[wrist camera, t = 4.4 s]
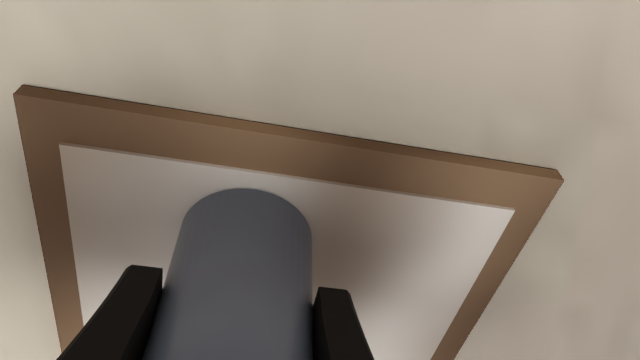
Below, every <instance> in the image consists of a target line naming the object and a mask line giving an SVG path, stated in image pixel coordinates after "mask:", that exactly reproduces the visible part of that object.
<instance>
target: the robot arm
mask: <svg viewBox="0 0 640 360" xmlns="http://www.w3.org/2000/svg"><path fill="white" fill-rule="evenodd" d="M162 280H163V268H157V267H149V266H140V265H130V266H128V267H127V268H126V269H125V271H124V272H123V274H122V275H121V277H120V278H119V280H118V281H117V283H116V284H115V286H114V287H113V288H112V290H111V291H110V293H109V294H108V295H107V297H106V298H105V300H104V301H103V302H102V304H101V305H100V306H99V308H98V309H97V310H96V312H95V313H94V314H93V315H92V317H91V318H90V319H89V321H88V322H87V323H86V324H85V326H84V327H83V328H82V329H81V331H80V332H79V333H78V334H77V335H76V337H75V338H74V339H73V340H72V341H71V343H70V344H69V345H68V346H67V348H66V349H65V350H64V351H63V352H62V354H61V355H60V356H59V357H58V358H57V359H56V360H142V357H143V353H144V350H145V347H146V343H147V340H148V337H149V333H150V330H151V327H152V323H153V320H154V317H155V313H156V310H157V306H158V303H159V300H160V296H161V293H162ZM313 360H374V357H373V355H372V352H371V350H370V347H369V345H368V342H367V340H366V337H365V335H364V332H363V330H362V327H361V324H360V321H359V319H358V316H357V313H356V310H355V307H354V304H353V301H352V298H351V294H350V293H349V292H348V291H347V290H345V289H336V288H328V287H318V290H317V294H316V297H315V301H314V304H313Z"/></svg>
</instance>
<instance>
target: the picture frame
mask: <svg viewBox="0 0 640 360" xmlns="http://www.w3.org/2000/svg"><path fill="white" fill-rule="evenodd" d="M13 97H14V102H15V107H16V113H17V118H18V123H19V129H20V134H21V139H22V145H23V150H24V155H25V161H26V166H27V171H28V176H29V182H30V187H31V192H32V198H33V203H34V208H35V214H36V219H37V224H38V230H39V235H40V240H41V246H42V251H43V256H44V261H45V267H46V272H47V277H48V283H49V288H50V293H51V299H52V304H53V309H54V315H55V320H56V325H57V331H58V336H59V341H60V346H61V352H63V351H64V350H65V349H66V348H67V346H68V345H69V344H70V343H71V341H72V340H73V339H74V338H75V337H76V335H77V334H78V333H79V332H80V331H81V329H82V328H83V327H84V326H85V324H86V323H87V322H88V321H89V319H90V318H91V317H92V315H93V314H94V313H95V312H96V310H97V309H98V308H99V306H100V305H101V304H102V302H103V301H104V300H105V298H106V297H107V295H108V294H109V293H110V291H111V290H112V288H113V287H114V286H115V284H116V283H117V281H118V280H119V278H120V277H121V275H122V274H123V272H124V271H125V269H126V268H127V267H128V266H130V265H140V266H149V267H157V268H163V280H162V289H163V286H164V282H165V279H166V276H167V272H168V269H169V265H170V262H171V259H172V255H173V252H174V248H175V245H176V242H177V238H178V235H179V231H180V228H181V225H182V222H183V219H184V217H185V215H186V213H187V212H188V211H189V210H190V208H191V207H192V206H193V205H195V204H196V203H197V202H198V201H200V200H201V199H203V198H205V197H207V196H209V195H211V194H214V193H216V192H220V191H224V190H230V189H254V190H260V191H265V192H268V193H271V194H274V195H276V196H278V197H281V198H283V199H284V200H286V201H288V202H289V203H291V204H292V205H293V206H295V207H296V208H297V209H298V210H299V211H300V212H301V213H302V215H303V216H304V217H305V219H306V220H307V222H308V224H309V227H310V230H311V235H312V292H313V304H314V301H315V297H316V294H317V290H318V287H328V288H336V289H345V290H347V291H348V292H349V293H350V294H351V298H352V301H353V304H354V307H355V310H356V313H357V316H358V319H359V321H360V324H361V327H362V330H363V332H364V335H365V337H366V340H367V342H368V345H369V347H370V350H371V352H372V355H373V357H374V360H454V358H455V356H456V355H457V353H458V351H459V350H460V348H461V347H462V345H463V343H464V342H465V340H466V339H467V337H468V335H469V334H470V332H471V330H472V329H473V327H474V326H475V324H476V322H477V321H478V319H479V317H480V316H481V314H482V313H483V311H484V309H485V308H486V306H487V305H488V303H489V301H490V300H491V298H492V296H493V295H494V293H495V292H496V290H497V288H498V287H499V285H500V283H501V282H502V280H503V279H504V277H505V275H506V274H507V272H508V271H509V269H510V267H511V266H512V264H513V262H514V261H515V259H516V258H517V256H518V254H519V253H520V251H521V250H522V248H523V246H524V245H525V243H526V241H527V240H528V238H529V237H530V235H531V233H532V232H533V230H534V228H535V227H536V225H537V224H538V222H539V220H540V219H541V217H542V216H543V214H544V212H545V211H546V209H547V207H548V206H549V204H550V203H551V201H552V199H553V198H554V196H555V194H556V193H557V191H558V190H559V188H560V186H561V185H562V183H563V182H564V179H563V178H562V176H561V175H560V173H559V172H558V170H553V169H547V168H541V167H534V166H528V165H522V164H516V163H509V162H503V161H497V160H490V159H484V158H478V157H472V156H465V155H459V154H453V153H446V152H440V151H434V150H428V149H421V148H415V147H409V146H402V145H396V144H390V143H384V142H377V141H371V140H365V139H358V138H352V137H346V136H340V135H333V134H327V133H321V132H314V131H308V130H302V129H296V128H289V127H283V126H277V125H270V124H264V123H258V122H252V121H245V120H239V119H233V118H226V117H220V116H214V115H208V114H201V113H195V112H189V111H182V110H176V109H170V108H164V107H157V106H151V105H145V104H138V103H132V102H126V101H120V100H113V99H107V98H101V97H94V96H88V95H82V94H76V93H69V92H63V91H57V90H50V89H44V88H38V87H32V86H25V85H22V86H21V87H20V88H19V89H18V90H17V91H16V92H15V93H14V94H13Z"/></svg>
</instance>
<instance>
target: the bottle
mask: <svg viewBox="0 0 640 360" xmlns="http://www.w3.org/2000/svg"><path fill="white" fill-rule="evenodd" d="M142 360H313V292H312V235H311V230H310V227H309V224H308V222H307V220H306V219H305V217H304V216H303V215H302V213H301V212H300V211H299V210H298V209H297V208H296V207H295V206H293V205H292V204H291V203H289V202H288V201H286V200H284V199H283V198H281V197H278V196H276V195H274V194H271V193H268V192H265V191H260V190H254V189H230V190H224V191H220V192H216V193H214V194H211V195H209V196H207V197H205V198H203V199H201V200H200V201H198V202H197V203H196V204H195V205H193V206H192V207H191V208H190V210H189V211H188V212H187V213H186V215H185V217H184V219H183V222H182V225H181V228H180V231H179V235H178V238H177V242H176V245H175V248H174V252H173V255H172V259H171V262H170V265H169V269H168V272H167V276H166V279H165V282H164V286H163V289H162V293H161V296H160V300H159V303H158V306H157V310H156V313H155V317H154V320H153V323H152V327H151V330H150V333H149V337H148V340H147V343H146V347H145V350H144V353H143V357H142Z"/></svg>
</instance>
